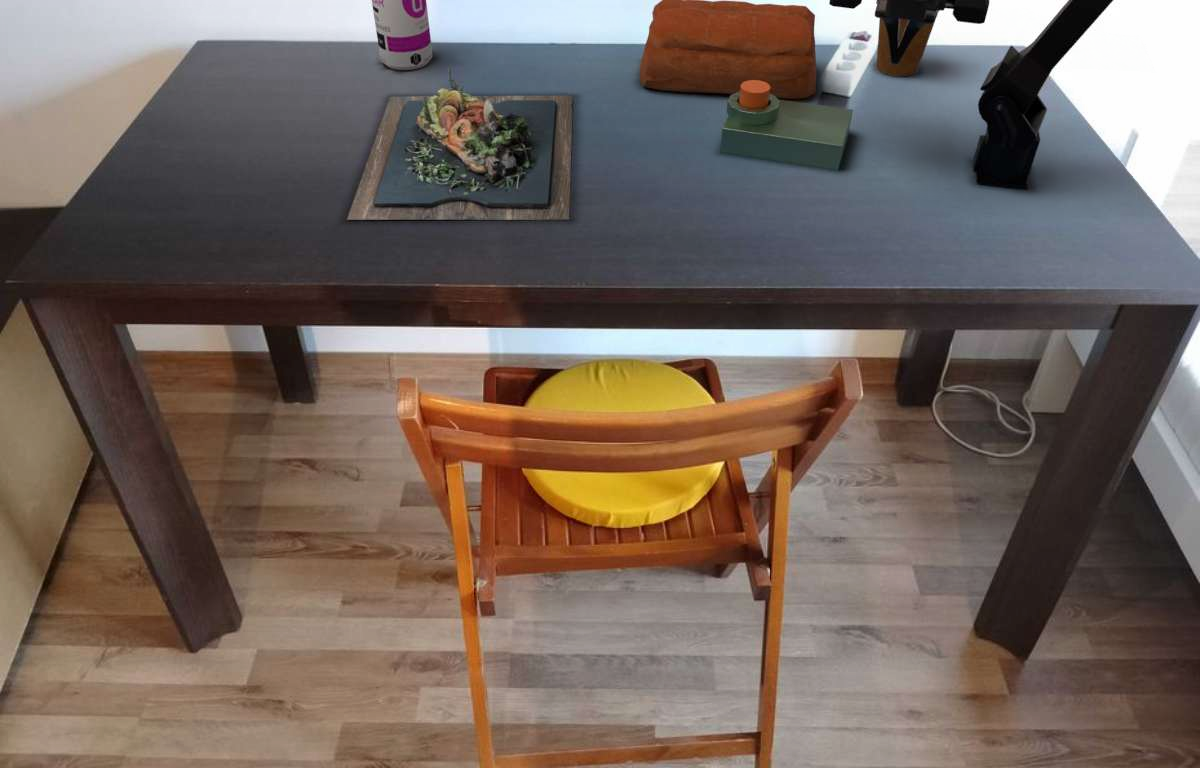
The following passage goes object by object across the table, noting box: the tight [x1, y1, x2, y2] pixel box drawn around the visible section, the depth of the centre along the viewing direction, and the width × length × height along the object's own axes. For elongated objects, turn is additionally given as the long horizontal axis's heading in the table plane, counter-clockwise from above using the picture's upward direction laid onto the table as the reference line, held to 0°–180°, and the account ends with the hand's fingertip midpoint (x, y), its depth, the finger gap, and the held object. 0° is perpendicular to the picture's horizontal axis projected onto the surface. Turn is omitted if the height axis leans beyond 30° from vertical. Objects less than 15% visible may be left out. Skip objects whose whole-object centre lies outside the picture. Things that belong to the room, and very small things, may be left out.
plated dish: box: [346, 66, 574, 221], centre depth 132 cm, size 35×28×7 cm
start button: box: [739, 80, 770, 109], centre depth 133 cm, size 4×4×3 cm
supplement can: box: [371, 0, 433, 71], centre depth 151 cm, size 8×8×15 cm
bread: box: [638, 0, 817, 100], centre depth 148 cm, size 16×27×11 cm, turn 81°
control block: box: [719, 91, 854, 172], centre depth 134 cm, size 16×11×6 cm
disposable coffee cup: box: [876, 10, 941, 77], centre depth 150 cm, size 10×10×12 cm
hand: (894, 62), depth 127 cm, fingers closed
